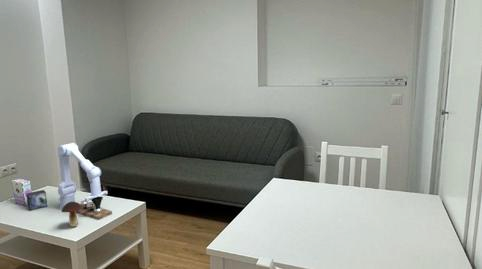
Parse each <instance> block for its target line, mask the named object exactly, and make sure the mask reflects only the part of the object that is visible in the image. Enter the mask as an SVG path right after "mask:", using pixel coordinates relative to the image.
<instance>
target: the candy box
mask: <svg viewBox="0 0 482 269" xmlns="http://www.w3.org/2000/svg"><path fill="white" fill-rule="evenodd" d="M11 186H12V191H13V196H14V203H15V204H17V205H21V206H24V207H26V206H27V207H28V204H27V196H26V194H27V193H31V192H33V191H32V184H31V180H27V179H23V178H17V179H14V180H13V179H12V180H11Z"/></svg>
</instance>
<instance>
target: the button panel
mask: <svg viewBox="0 0 482 269" xmlns="http://www.w3.org/2000/svg"><path fill="white" fill-rule="evenodd" d="M86 206H87V205H86ZM82 207H83V206H82ZM95 208H96V207H93V210H90V208H88V207H87V208H84V207H83V208H82V209H80V210H78V211H75V212H76V215H77V214H78V215H80V216H83V217H88V218H91V219H94V220H98V221H100V220H102V219H103V218H106V217H109V216H110V215H113V211H112V210H110V209H106V208H102V207H101V208H102V212H101V213H94V209H95Z"/></svg>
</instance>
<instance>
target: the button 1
mask: <svg viewBox="0 0 482 269" xmlns="http://www.w3.org/2000/svg"><path fill="white" fill-rule="evenodd" d="M87 203H89V201H85V199H84V200H81V201H80V204H81V206H83V207H84V208H87V206H86V205H87Z"/></svg>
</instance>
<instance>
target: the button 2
mask: <svg viewBox="0 0 482 269" xmlns="http://www.w3.org/2000/svg"><path fill="white" fill-rule="evenodd" d="M101 212H102V207H101V206H100V209H96V208H95V209H94V213H101Z"/></svg>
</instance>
